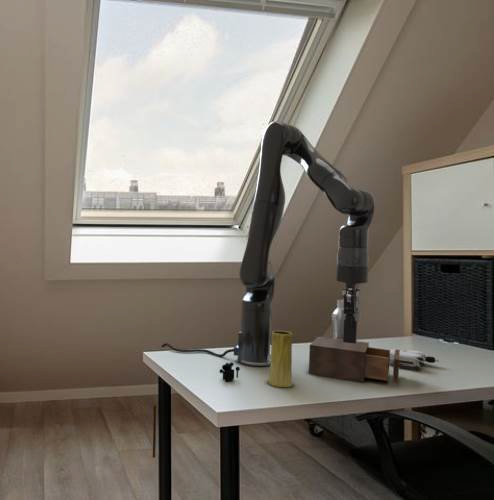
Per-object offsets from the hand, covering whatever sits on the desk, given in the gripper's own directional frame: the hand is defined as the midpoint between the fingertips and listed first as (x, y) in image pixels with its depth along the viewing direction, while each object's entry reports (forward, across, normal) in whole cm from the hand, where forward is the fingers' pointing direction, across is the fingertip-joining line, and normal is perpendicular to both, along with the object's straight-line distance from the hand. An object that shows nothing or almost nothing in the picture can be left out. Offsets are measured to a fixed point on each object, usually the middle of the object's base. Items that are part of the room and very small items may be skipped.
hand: (350, 328), depth 127 cm
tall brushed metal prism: (+4, 0, 0) cm, 4 cm away
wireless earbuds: (+16, +11, -29) cm, 35 cm away
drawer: (+15, -16, +7) cm, 24 cm away
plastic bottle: (+16, -32, -5) cm, 36 cm away
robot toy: (+16, -40, +14) cm, 45 cm away
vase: (+16, +6, -16) cm, 24 cm away
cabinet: (+16, -17, -4) cm, 24 cm away
